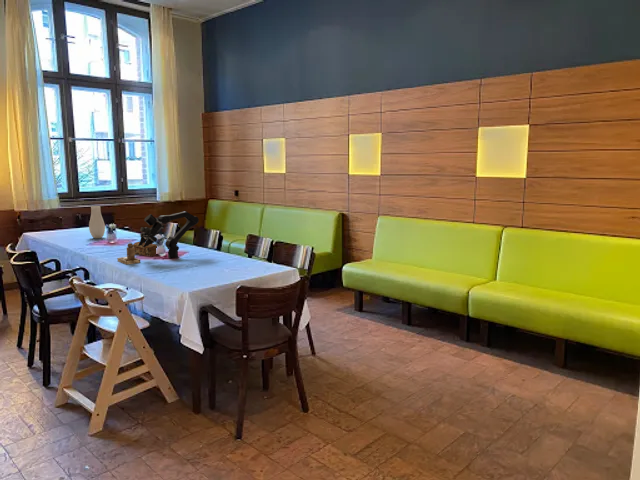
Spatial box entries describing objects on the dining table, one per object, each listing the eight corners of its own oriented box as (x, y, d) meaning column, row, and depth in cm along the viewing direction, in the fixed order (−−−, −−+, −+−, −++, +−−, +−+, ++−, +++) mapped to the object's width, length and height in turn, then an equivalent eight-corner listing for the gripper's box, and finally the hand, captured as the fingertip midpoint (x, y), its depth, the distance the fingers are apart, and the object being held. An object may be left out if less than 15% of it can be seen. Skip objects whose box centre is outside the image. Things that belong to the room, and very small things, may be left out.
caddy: (131, 259, 361) (130, 256, 360) (140, 263, 349) (140, 259, 349) (117, 261, 354) (117, 258, 353) (126, 265, 342) (126, 261, 342)
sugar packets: (128, 260, 357) (128, 257, 356) (130, 260, 355) (130, 257, 354) (122, 261, 354) (122, 257, 353) (124, 261, 352) (124, 258, 351)
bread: (132, 254, 381) (131, 242, 379) (142, 252, 390) (142, 240, 389) (149, 257, 373) (148, 244, 371) (159, 254, 382) (159, 242, 380)
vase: (106, 238, 457) (104, 206, 452) (90, 239, 450) (88, 207, 445) (104, 236, 469) (102, 205, 464) (89, 237, 462) (86, 206, 457)
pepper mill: (135, 261, 352) (134, 242, 349) (134, 263, 347) (133, 243, 344) (128, 261, 351) (127, 242, 349) (126, 263, 346) (125, 243, 343)
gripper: (141, 221, 360) (127, 238, 355) (151, 223, 346) (137, 240, 341) (152, 231, 367) (139, 247, 361) (163, 233, 353) (149, 250, 347)
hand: (141, 246), depth 353 cm, fingers open, 9 cm apart
